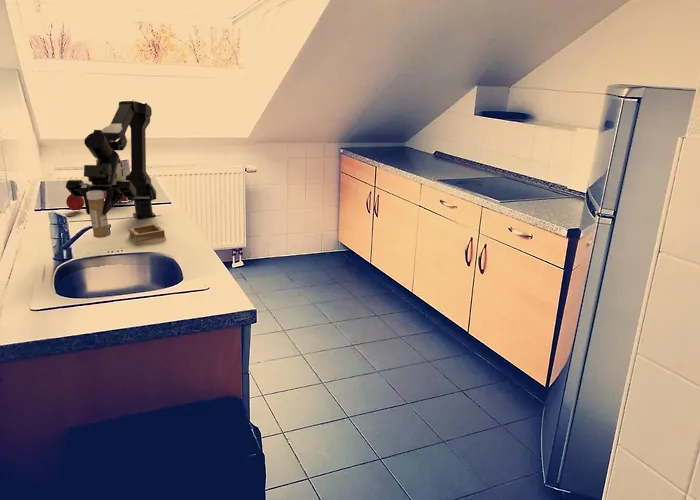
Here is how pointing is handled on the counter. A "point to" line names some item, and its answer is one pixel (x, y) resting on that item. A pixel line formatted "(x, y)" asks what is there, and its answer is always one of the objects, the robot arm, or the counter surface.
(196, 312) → the counter surface
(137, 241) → the holder
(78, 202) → the onion
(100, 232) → the sprinkles bottle
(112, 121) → the robot arm
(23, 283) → the counter surface
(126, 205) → the counter surface
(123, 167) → the candy bar box
